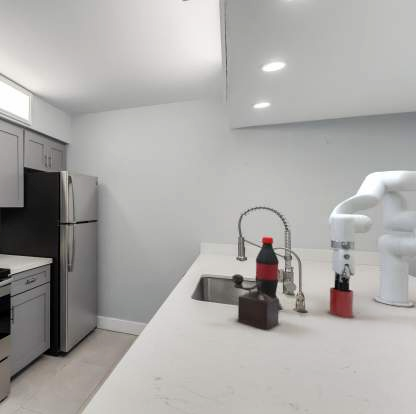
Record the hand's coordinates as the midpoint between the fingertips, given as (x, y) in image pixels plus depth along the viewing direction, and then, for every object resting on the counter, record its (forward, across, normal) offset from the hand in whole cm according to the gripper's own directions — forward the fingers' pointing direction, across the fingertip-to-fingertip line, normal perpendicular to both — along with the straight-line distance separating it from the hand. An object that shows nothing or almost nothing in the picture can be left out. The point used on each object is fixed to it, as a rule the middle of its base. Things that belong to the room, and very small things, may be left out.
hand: (341, 290), depth 126 cm
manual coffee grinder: (+10, -27, +34) cm, 45 cm away
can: (+10, 0, 0) cm, 10 cm away
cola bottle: (+10, -5, +27) cm, 29 cm away
